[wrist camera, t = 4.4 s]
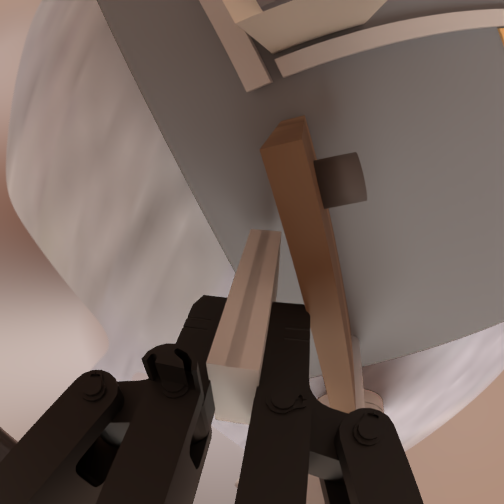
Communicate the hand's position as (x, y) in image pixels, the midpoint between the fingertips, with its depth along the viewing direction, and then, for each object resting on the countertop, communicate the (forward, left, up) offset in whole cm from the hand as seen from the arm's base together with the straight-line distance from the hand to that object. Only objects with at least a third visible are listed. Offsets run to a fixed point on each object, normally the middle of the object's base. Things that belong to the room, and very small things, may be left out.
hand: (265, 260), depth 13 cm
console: (+9, +2, -5) cm, 11 cm away
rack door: (+3, -1, -2) cm, 4 cm away
